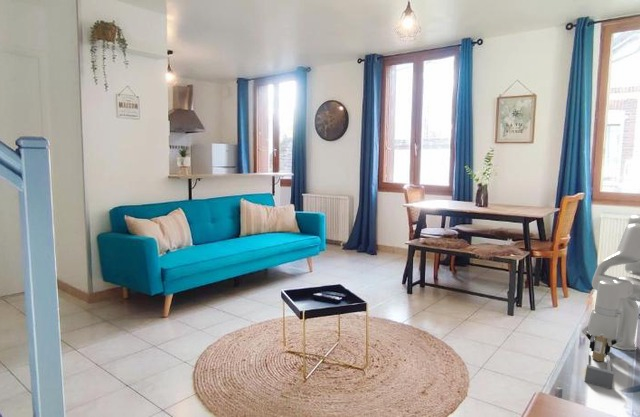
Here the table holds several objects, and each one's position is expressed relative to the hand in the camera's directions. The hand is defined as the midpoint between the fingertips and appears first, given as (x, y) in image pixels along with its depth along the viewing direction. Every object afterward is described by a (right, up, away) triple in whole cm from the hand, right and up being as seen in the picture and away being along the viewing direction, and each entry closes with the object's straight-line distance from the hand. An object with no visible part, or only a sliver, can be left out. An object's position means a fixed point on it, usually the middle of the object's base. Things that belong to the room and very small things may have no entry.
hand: (599, 351), depth 178 cm
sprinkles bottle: (0, -3, +1) cm, 4 cm away
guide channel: (-5, -5, -7) cm, 10 cm away
